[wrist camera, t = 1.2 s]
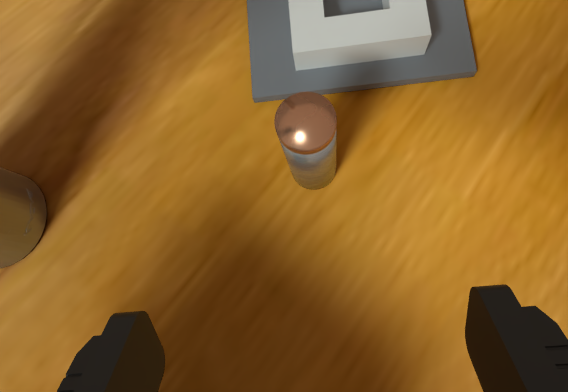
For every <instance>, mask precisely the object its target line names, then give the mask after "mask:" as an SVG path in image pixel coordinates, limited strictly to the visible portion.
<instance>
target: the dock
mask: <svg viewBox="0 0 568 392" xmlns="http://www.w3.org/2000/svg"><path fill="white" fill-rule="evenodd" d="M247 10H248V27H249V44H250V61H251V78H252V95H253V100H254V102H255V103H256V102H265V101H273V100H281V99H287V98H288V97H289V96H291V95H293V94H296V93H299V92H314V93H318V94H320V95H323V94H331V93H340V92H348V91H356V90H365V89H373V88H381V87H390V86H398V85H406V84H415V83H423V82H431V81H440V80H448V79H456V78H465V77H473V76H474V75H475V73H476V72H477V68H476V63H475V58H474V53H473V48H472V43H471V37H470V32H469V27H468V22H467V17H466V11H465V6H464V1H463V0H247Z"/></svg>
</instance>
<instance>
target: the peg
mask: <svg viewBox="0 0 568 392" xmlns="http://www.w3.org/2000/svg"><path fill="white" fill-rule="evenodd" d="M275 129H276V132H277V135H278V137H279V140H280V143H281V145H282V148H283V151H284V153H285V156H286V159H287V161H288V164H289V167H290V169H291V172H292V175H293V177H294V179H295V181H296V182H297V183H298V184H299V185H300V186H302V187H304V188H306V189H311V190H316V189H321V188H323V187H325V186H327V185H328V184H329V183H330V182H331V181H332V180H333V178H334V176H335V173H336V112H335V109H334V107H333V105H332V104H331V103H330V101H329V100H328V99H326V98H325V97H324V96H322V95H320V94H318V93H314V92H299V93H296V94H293V95H291V96H289V97H288V98H287V99H285V100H284V101H283V102H282V103H281V105H280V106H279V108H278V109H277V112H276V115H275Z"/></svg>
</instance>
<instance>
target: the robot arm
mask: <svg viewBox="0 0 568 392" xmlns="http://www.w3.org/2000/svg"><path fill="white" fill-rule="evenodd" d="M46 216H47V211H46V203H45V199H44V196H43V194H42V192H41V190H40V188H39V187H38V186H37V185H36V184H35V183H34V182H33V181H32V180H30V179H29V178H27V177H25V176H23V175H20V174H17V173H15V172H12V171H9V170H7V169H4V168H1V167H0V268H3V267H7V266H10V265H12V264H14V263H16V262H18V261H20V260H21V259H23V258H24V257H25V256H26V255H27V254H29V253H30V252H31V250H32V249H33V248H34V247H35V246H36V244H37V242H38V241H39V239H40V237H41V236H42V233H43V230H44V227H45V223H46ZM465 339H466V345H467V349H468V353H469V356H470V359H471V361H472V364H473V366H474V369H475V371H476V374H477V376H478V379H479V382H480V384H481V387H482V389H483V392H568V339H567V338H566V336H565V335H564V333H563V332H562V330H561V329H560V327H559V326H558V324H557V323H556V322H555V321H553V320H552V319H551V318H550V317H549V316H547V315H546V314H545V313H544V312H542V311H541V310H540V309H539V308H537V307H536V306H528V307H521V305H520V304H519V302H518V300H517V299H516V297H515V295H514V293H513V292H512V290H511V289H510V287H509V286H507V285H492V286H479V287H472V288H471V290H470V294H469V302H468V310H467V318H466V326H465ZM164 367H165V355H164V350H163V347H162V345H161V343H160V340H159V338H158V336H157V334H156V331H155V329H154V327H153V325H152V322H151V320H150V318H149V316H148V314H147V313H146V312H145V311H137V312H124V313H115V314H113V315H112V316H111V317H110V319H109V321H108V323H107V325H106V327H105V329H104V331H103V333H102V335H101V336H93V337H92V338H91V339H90V340H89V341H88V342H87V344H86V345H85V346H84V347H83V348H82V349H81V350H80V351H79V352H78V353H77V354H76V356H75V358H74V360H73V362H72V364H71V365H70V367H69V369H68V371H67V373H66V378H64V379H63V381H62V382H61V384H60V386H59V388H58V390H57V392H158V389H159V386H160V383H161V380H162V376H163V373H164Z"/></svg>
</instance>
